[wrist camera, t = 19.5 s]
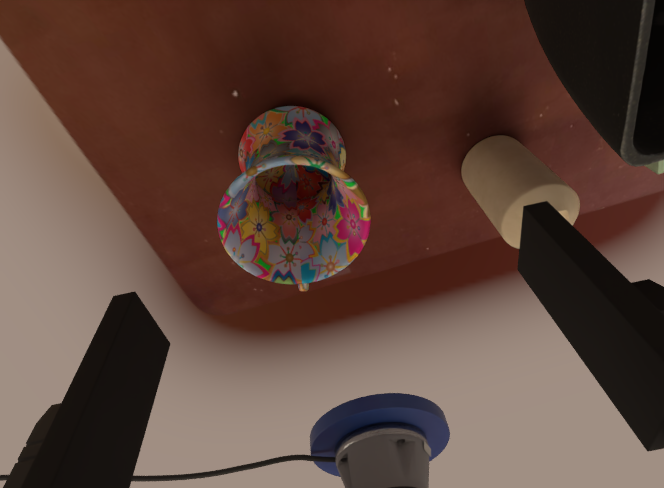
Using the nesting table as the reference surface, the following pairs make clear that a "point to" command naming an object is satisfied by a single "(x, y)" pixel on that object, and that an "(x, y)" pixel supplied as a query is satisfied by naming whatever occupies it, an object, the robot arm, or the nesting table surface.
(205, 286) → the nesting table surface
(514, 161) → the candle
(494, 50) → the nesting table surface
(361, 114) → the nesting table surface
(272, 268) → the mug
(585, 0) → the flower pot
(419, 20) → the nesting table surface
